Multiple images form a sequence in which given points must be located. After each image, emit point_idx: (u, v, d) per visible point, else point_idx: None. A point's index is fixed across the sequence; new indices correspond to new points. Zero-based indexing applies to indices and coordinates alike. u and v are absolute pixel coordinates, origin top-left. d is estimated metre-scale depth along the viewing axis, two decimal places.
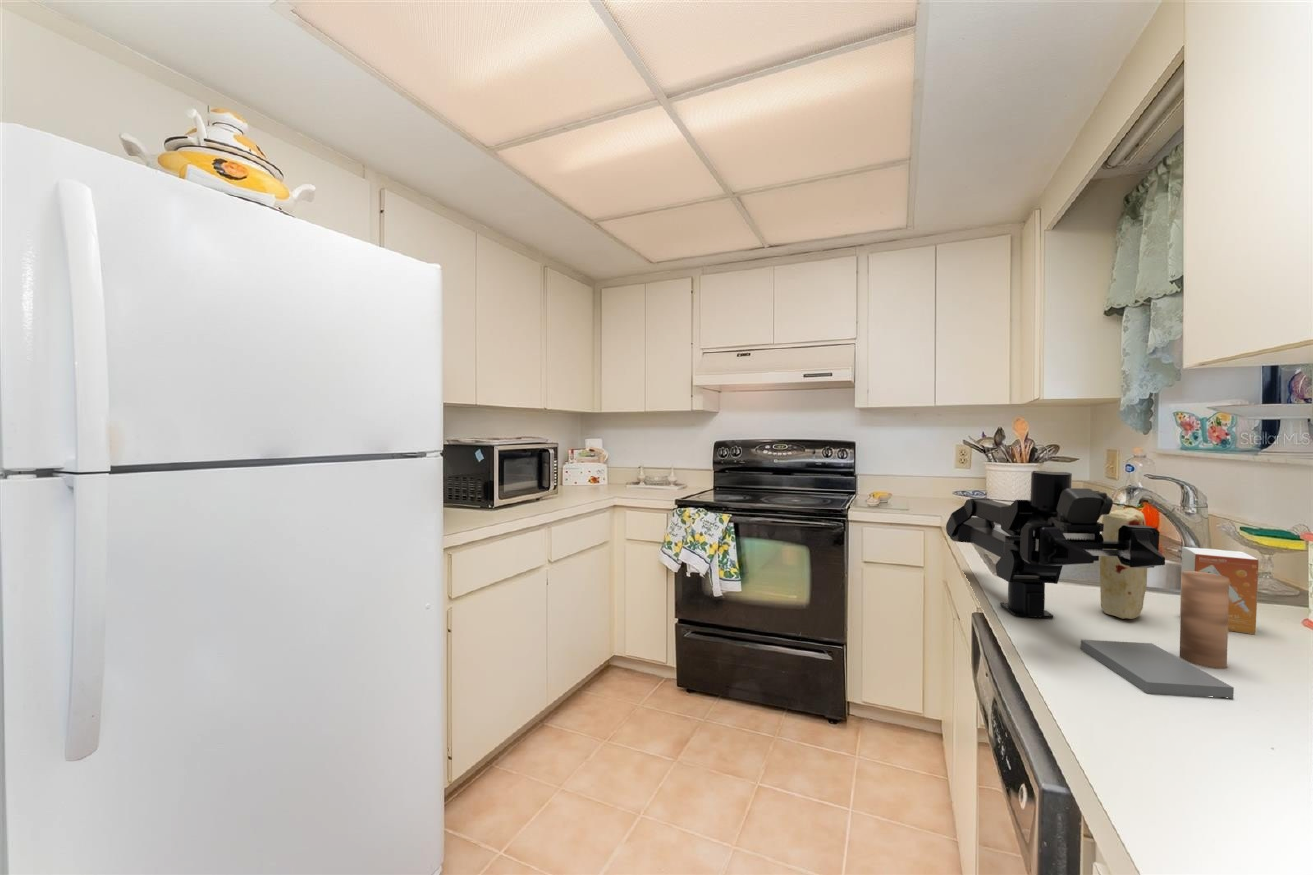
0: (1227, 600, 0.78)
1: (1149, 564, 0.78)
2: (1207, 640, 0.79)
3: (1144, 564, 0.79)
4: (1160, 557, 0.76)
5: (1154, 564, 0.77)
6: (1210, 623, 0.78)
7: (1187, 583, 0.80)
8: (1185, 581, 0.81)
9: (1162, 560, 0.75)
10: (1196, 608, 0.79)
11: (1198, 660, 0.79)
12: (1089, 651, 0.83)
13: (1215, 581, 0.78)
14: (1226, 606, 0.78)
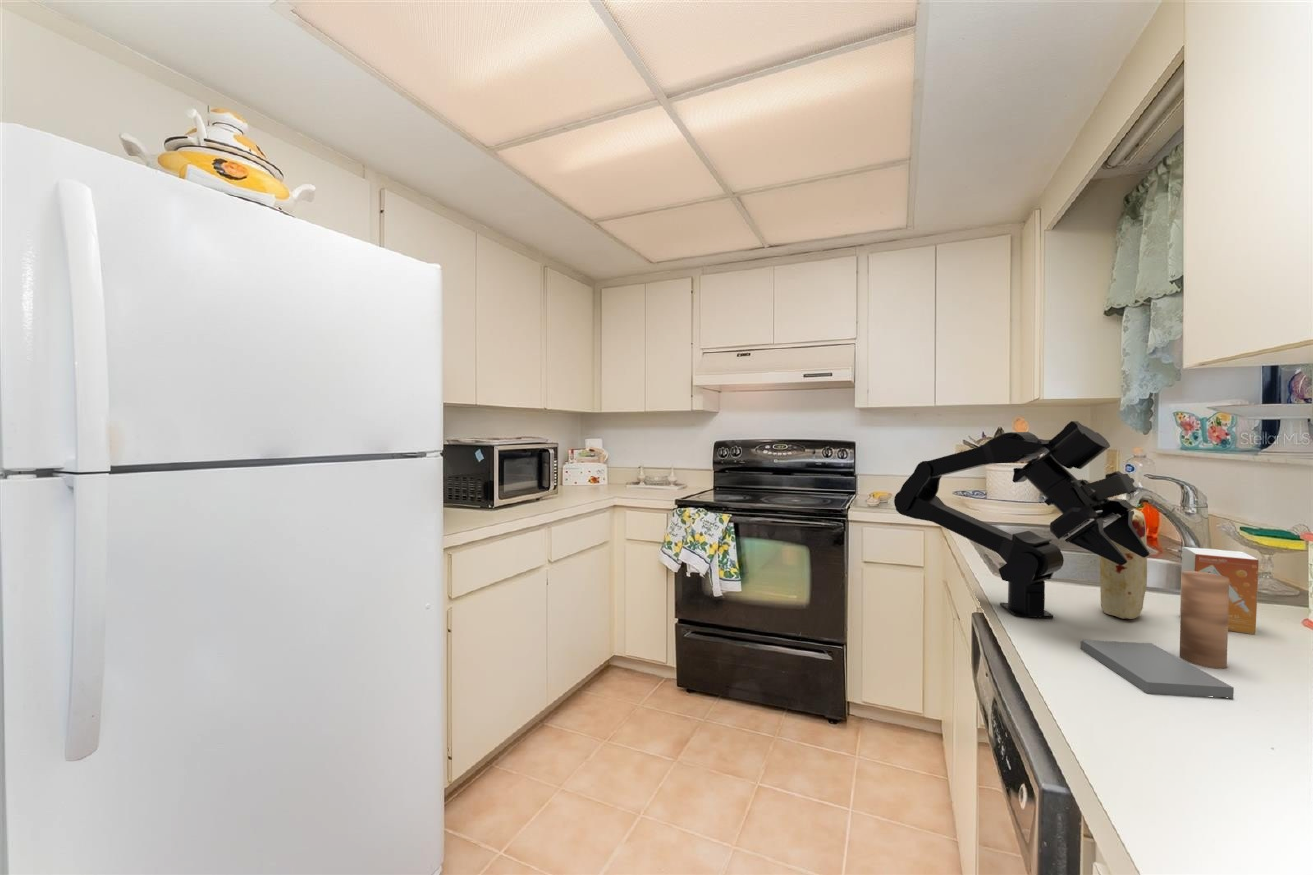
0: (1227, 600, 0.78)
1: (1128, 548, 0.92)
2: (1207, 640, 0.79)
3: (1120, 543, 0.92)
4: (1147, 552, 0.89)
5: (1134, 552, 0.91)
6: (1210, 623, 0.78)
7: (1187, 583, 0.80)
8: (1185, 581, 0.81)
9: (1147, 555, 0.89)
10: (1196, 608, 0.79)
11: (1198, 660, 0.79)
12: (1089, 651, 0.83)
13: (1215, 581, 0.78)
14: (1226, 606, 0.78)
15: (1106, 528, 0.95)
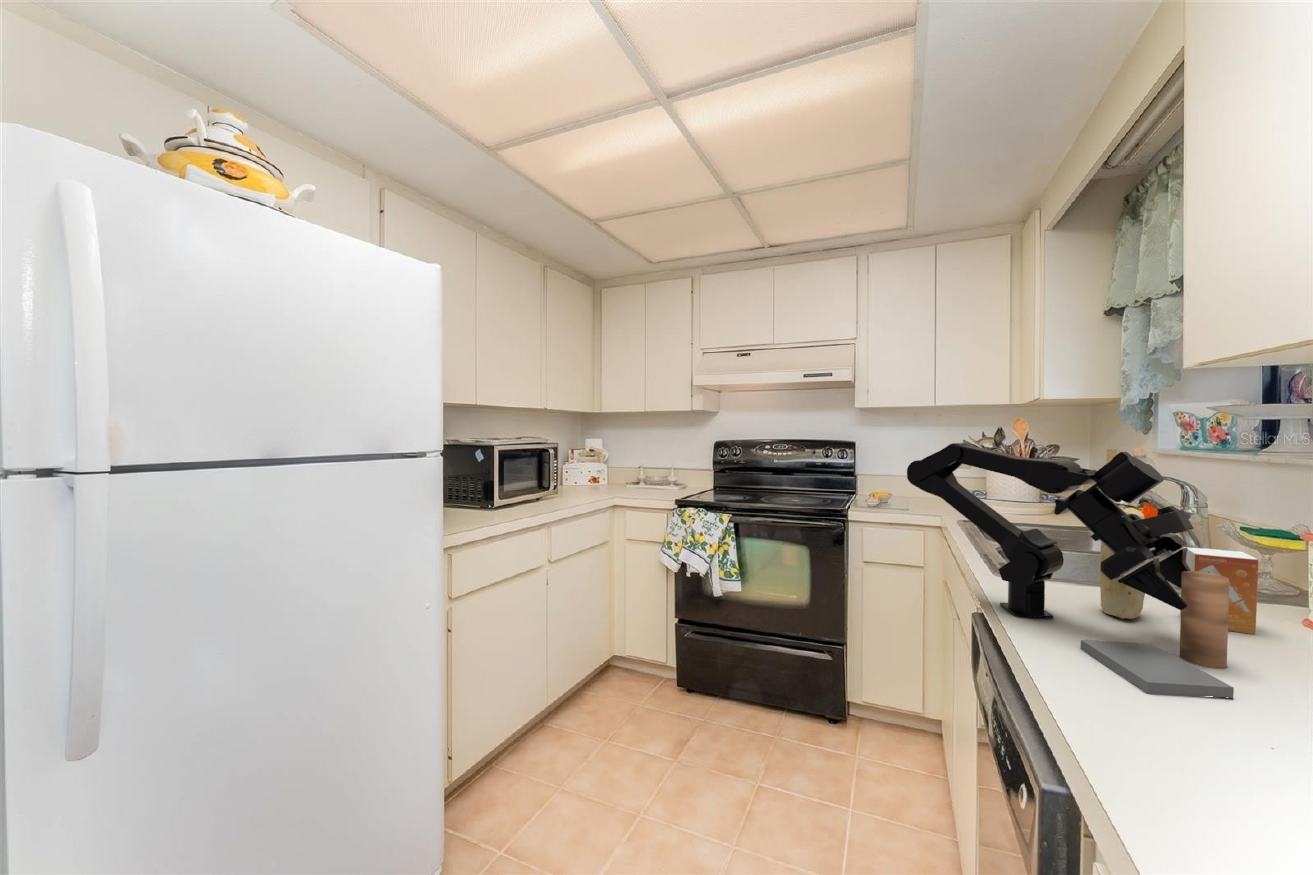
0: (1227, 600, 0.78)
1: None
2: (1207, 640, 0.79)
3: (1174, 583, 0.87)
4: None
5: None
6: (1210, 623, 0.78)
7: (1187, 583, 0.80)
8: (1185, 581, 0.81)
9: None
10: (1196, 608, 0.79)
11: (1198, 660, 0.79)
12: (1089, 651, 0.83)
13: (1215, 581, 0.78)
14: (1226, 606, 0.78)
15: None
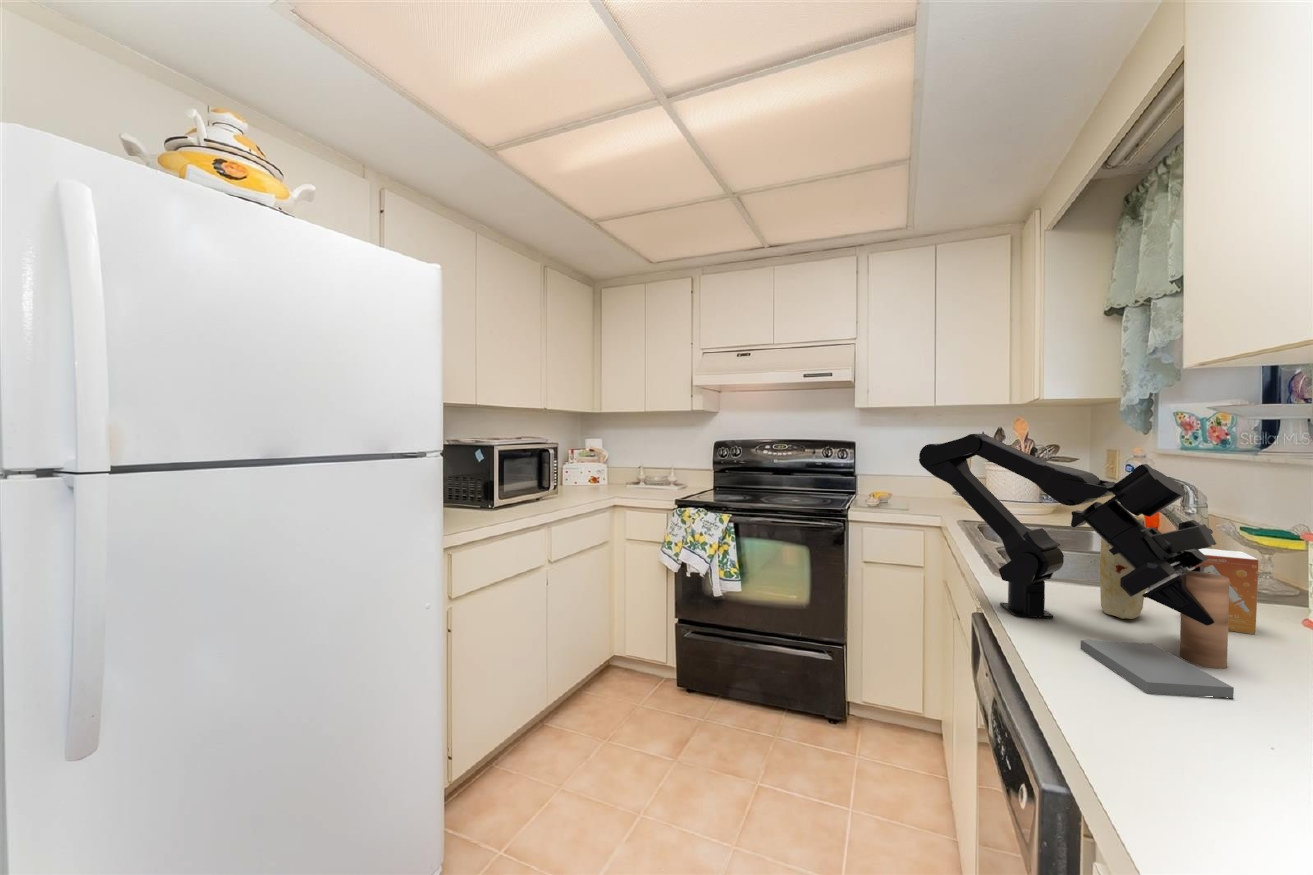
0: (1227, 600, 0.78)
1: None
2: (1207, 640, 0.79)
3: None
4: None
5: None
6: None
7: (1188, 583, 0.80)
8: None
9: None
10: None
11: (1198, 660, 0.79)
12: (1089, 651, 0.83)
13: (1215, 581, 0.78)
14: (1227, 606, 0.78)
15: None
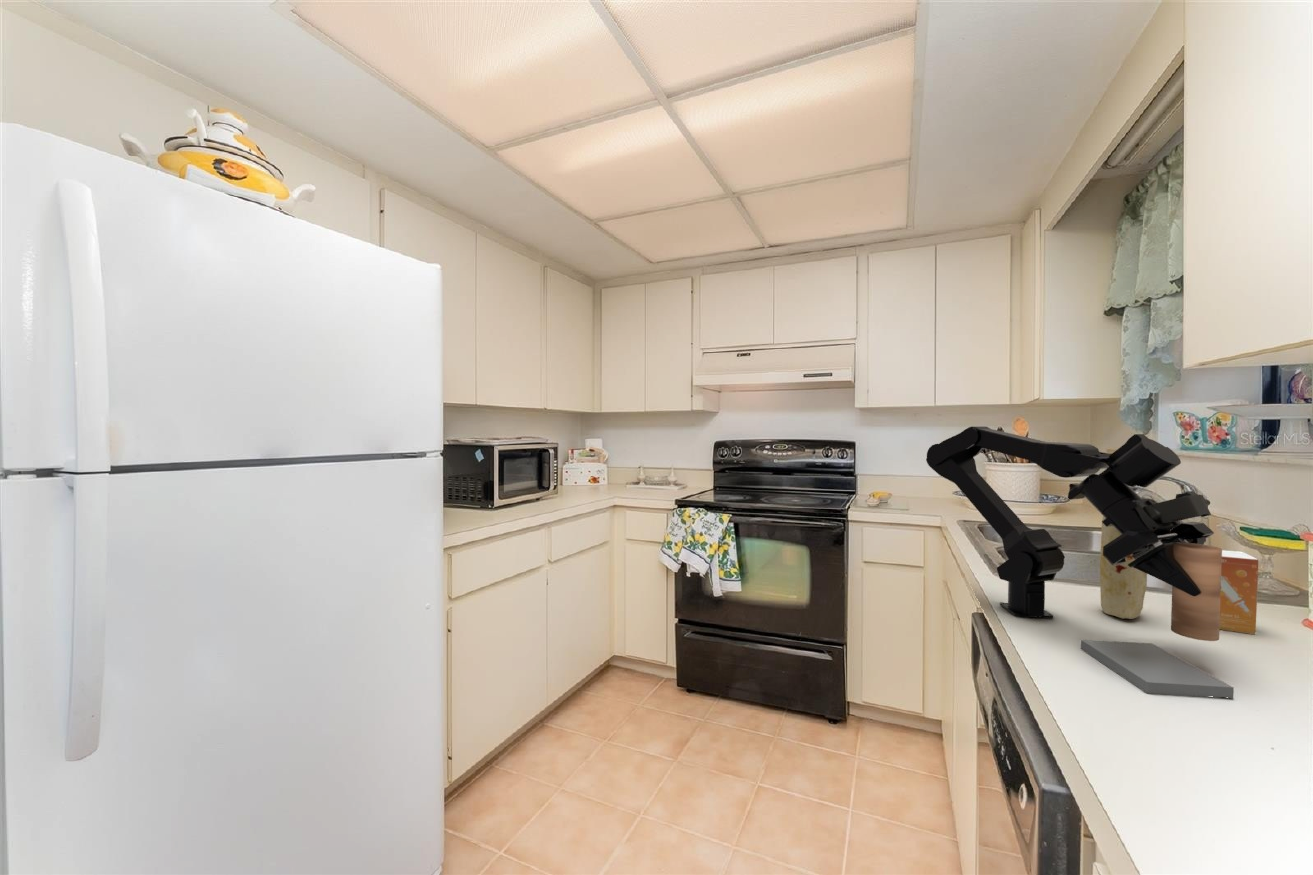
0: (1218, 571, 0.76)
1: None
2: (1195, 611, 0.77)
3: None
4: None
5: None
6: None
7: (1177, 554, 0.79)
8: (1175, 552, 0.79)
9: None
10: None
11: (1186, 632, 0.78)
12: (1089, 651, 0.83)
13: (1204, 551, 0.76)
14: (1217, 578, 0.76)
15: None
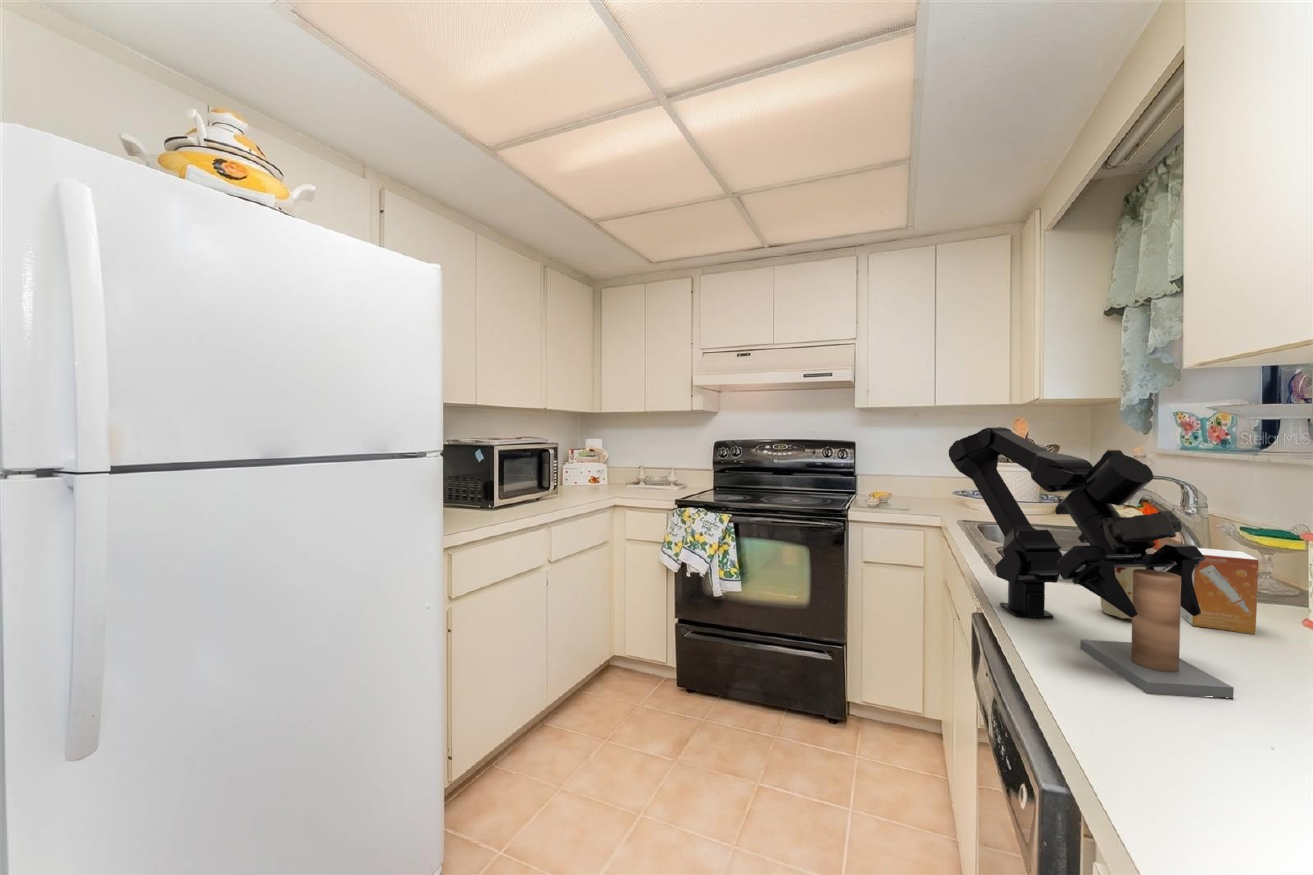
0: (1172, 600, 0.74)
1: None
2: (1146, 639, 0.75)
3: None
4: (1196, 611, 0.75)
5: (1184, 608, 0.76)
6: (1148, 621, 0.75)
7: (1133, 579, 0.77)
8: (1133, 577, 0.78)
9: (1196, 614, 0.75)
10: (1137, 605, 0.76)
11: (1138, 659, 0.76)
12: (1089, 651, 0.83)
13: (1154, 578, 0.74)
14: (1170, 607, 0.74)
15: None
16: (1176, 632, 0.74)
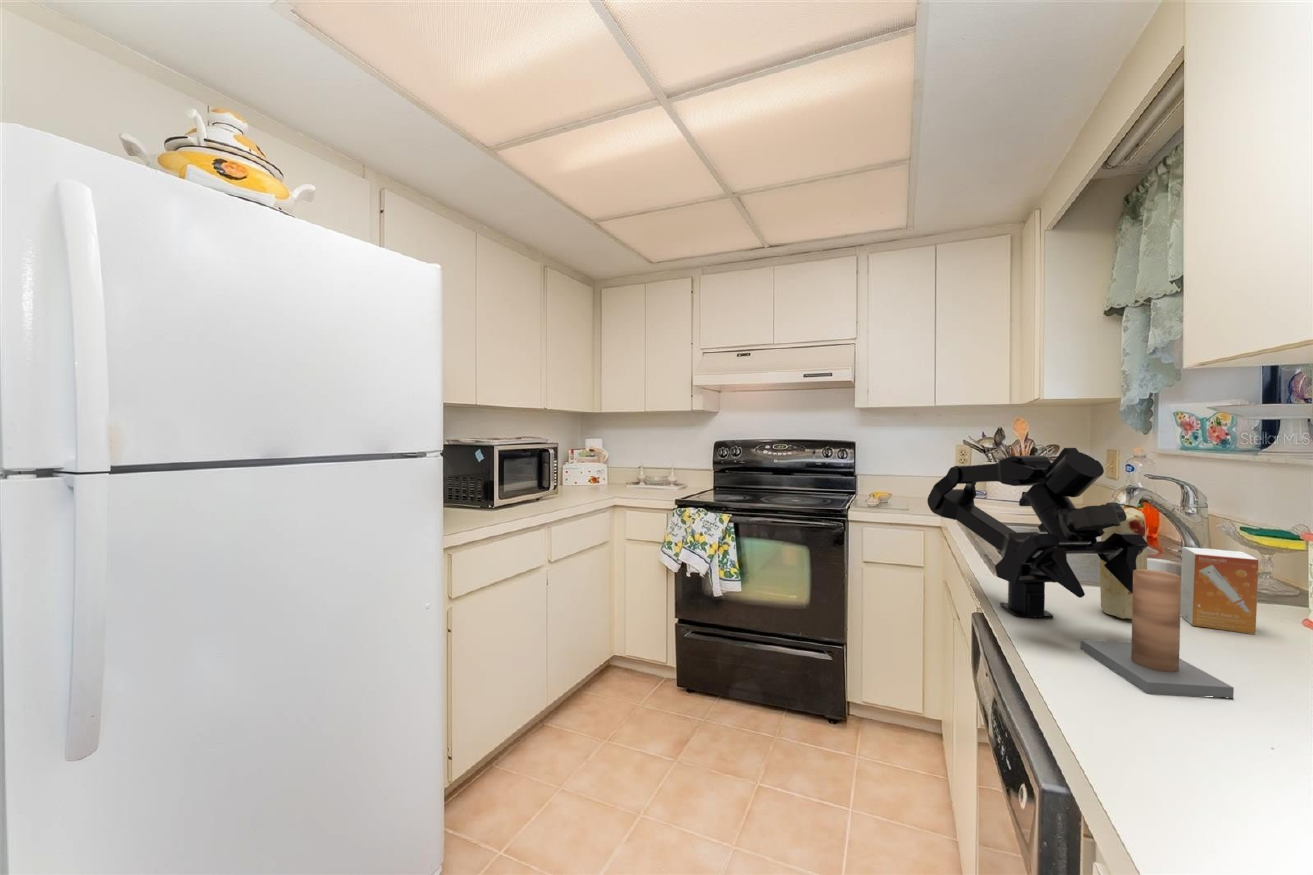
0: (1172, 600, 0.74)
1: (1124, 585, 0.86)
2: (1146, 639, 0.75)
3: (1119, 579, 0.87)
4: None
5: (1128, 590, 0.85)
6: (1148, 622, 0.75)
7: (1133, 580, 0.77)
8: (1133, 578, 0.78)
9: None
10: (1137, 605, 0.76)
11: (1138, 660, 0.76)
12: (1089, 651, 0.83)
13: (1154, 578, 0.74)
14: (1170, 607, 0.74)
15: (1110, 562, 0.89)
16: (1176, 632, 0.74)
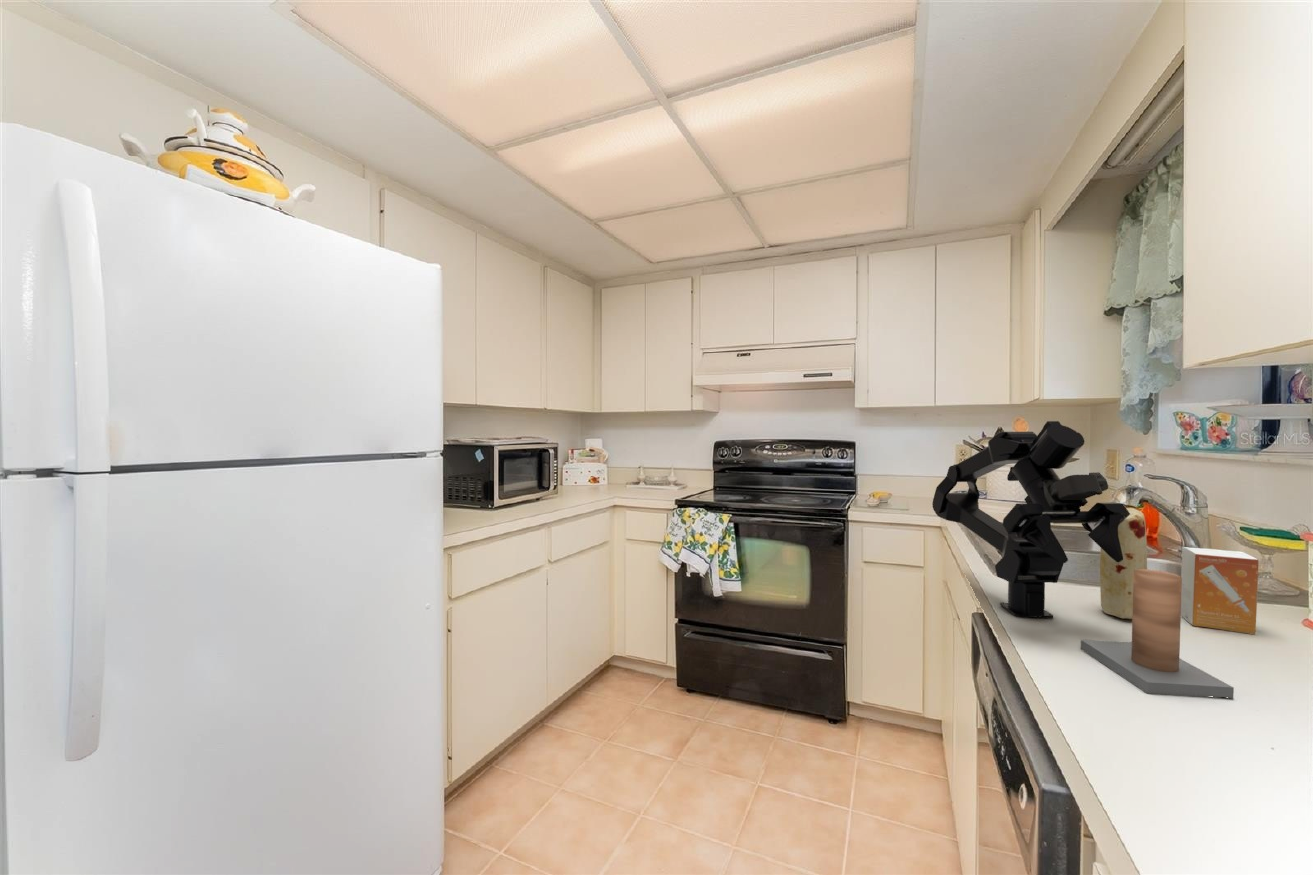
0: (1173, 600, 0.73)
1: (1106, 552, 0.89)
2: (1146, 640, 0.75)
3: (1102, 547, 0.90)
4: (1119, 557, 0.86)
5: (1111, 556, 0.88)
6: (1149, 622, 0.75)
7: (1134, 580, 0.77)
8: None
9: (1120, 560, 0.86)
10: (1138, 605, 0.76)
11: (1138, 660, 0.76)
12: (1089, 651, 0.83)
13: (1154, 579, 0.74)
14: (1171, 607, 0.74)
15: (1093, 531, 0.92)
16: (1176, 632, 0.74)
